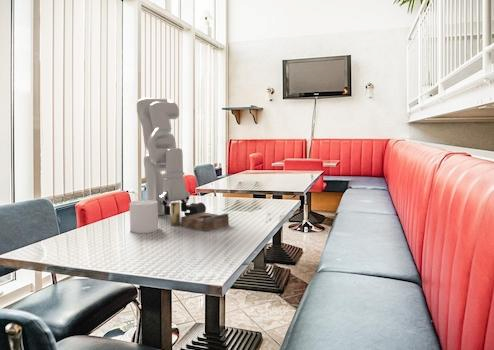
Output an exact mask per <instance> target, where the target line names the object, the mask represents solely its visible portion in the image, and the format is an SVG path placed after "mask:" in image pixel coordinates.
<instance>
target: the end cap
mask: <svg viewBox="0 0 494 350" xmlns="http://www.w3.org/2000/svg"><path fill="white" fill-rule="evenodd" d="M206 210H207V208H206V205H205V204H204V203H203V202H198V203H195V202H194V203H193V202H192V203H190V204H187V211H189V212H184V216H189V215H193V214H198V213H203V212H205V213H206Z"/></svg>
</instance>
